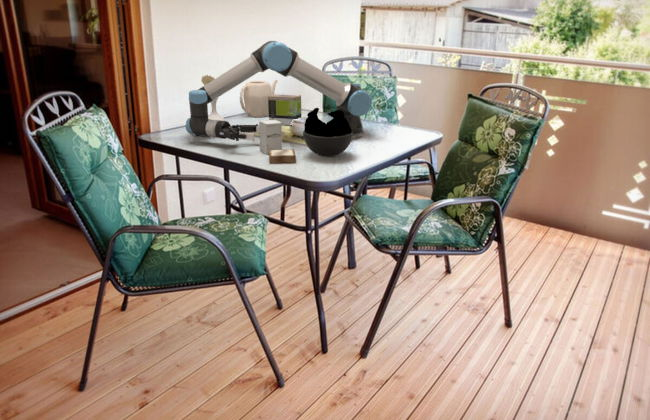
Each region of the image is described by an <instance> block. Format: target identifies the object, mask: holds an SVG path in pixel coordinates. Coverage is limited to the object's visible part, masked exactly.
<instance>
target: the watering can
mask: <svg viewBox="0 0 650 420" xmlns="http://www.w3.org/2000/svg"><path fill="white" fill-rule="evenodd" d="M277 83H278V80H277V79H275V80H274V81H273V82H272V84H270V83H269V82H268V81H266V80H250V81H246V82H245V84H244V85H243V86H242V87H241V88H240V93H239V104H240V107H241V109H242V110H243V112H244V113H246V114H247V116H248V117H251V118H252V117H253V118H263V117H269V112H268V96H271V95H274V94H275V89H276V86H277Z"/></svg>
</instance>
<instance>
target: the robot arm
mask: <svg viewBox="0 0 650 420" xmlns="http://www.w3.org/2000/svg"><path fill="white" fill-rule="evenodd" d="M268 70H271V71H273V72H276V73H278V74H279V75H281V76H283V77H292V78H294V79H296V80H297V81H299V82H301V83H303V84H305V85H307V86H308V87H310V88H312V89H313V90H315V91H317V92H319V93H321V94H322V95H324V96H327V97H328V98H330V99H332V100H333V101H335V104H336V105H335V106H336V108H335V110H342V111H343V112H344V114H345V118H346V119H347V121H348V123H349V126H350V127H351V130H352V132H353V134H359V133H362V132H363V131H364V127H363V122H362V118H361V117H362V116H364V115H366V114H367V113H369V112H370V110H371V108H372V104H373V99H372V96H371V95H370V94H369V92H368V91H366V90H364V89H362V85H361V83H351V82H346V83H344V82H342V81H341V80H339V79H337V78H335V77H334V76H332V75H330V74H328V73H326V72H325V71H323V70H322V69H320V68H318V67H316V66H315V65H313V64H311V63H309V62H307V61H306V60H304V59H302V58H300V57H299V52H297V51H296V50H294V49H292V48H290V47H289V46H287V45H286V44H285V43H284V42H281V41H278V40H277V41H276V40H268V41H266V42H265V43H263V44H262V45H261V46H260V47H258V48H257V49H256V50H255V51H253V52H251V53H250V56H249V57H248V58H246V59H244V60H242V61H241V62H240V63H238V64H237V65H235V66H233V67H232V68H230V69H229V70H227V71H225V72H224V73H222V74H220V75H219V76H218V77H216V78H214V80H212V81H211V82H209V83H208V84H206V85H204V84H203V86H202V87H200V88H198V89H191V90H190V91H188V100H189V101H188V102H189V112H190V117H189V118H187V120H185V130H186V132H187V133H188V134H189V135H193V136H196V137H200V136H201V137H207V138H212V139H215V138H217V139H218V138H219V139H224V140H225V139H229V140H233V141H236V142H239V141H240V140H242V141H243V140H244V141H252V142H253V141H255V133H258V134H260V133H259V123H256V124H232V125H231V123H230V122H229V121H227V120H226V121H221V120H220V121H219V120H211V119H208V116H209V110H208V108H209V107H208V104H209V103H210V104H211V102H212V101H213V100H214V99H216V98H218V99H219V97H220V96H223V95H225V94H226V93H227V92H229V91H231V90H232V89H234V88H236V87H237V86H238V85H240V84H242V83H243V82H245V81H247V80H248V79H250V78H252V77H253V76H255V75H256V74H258V73H264V72H266V71H268Z"/></svg>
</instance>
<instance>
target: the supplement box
mask: <svg viewBox="0 0 650 420" xmlns="http://www.w3.org/2000/svg"><path fill="white" fill-rule="evenodd" d="M258 125H259V133H258V134H259V151H261V152H262V153H264V154H265V155H269V150H283V129H282V128H283V125H282V123H281V122H279V121H277V120H269V119H268V120H259V121H258Z"/></svg>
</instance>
